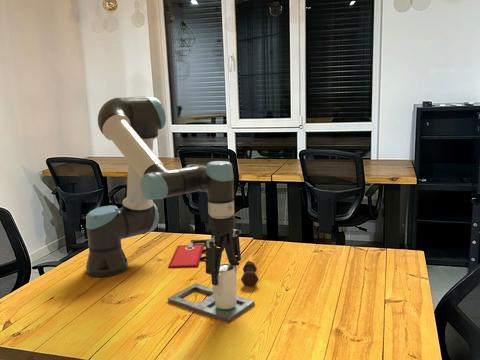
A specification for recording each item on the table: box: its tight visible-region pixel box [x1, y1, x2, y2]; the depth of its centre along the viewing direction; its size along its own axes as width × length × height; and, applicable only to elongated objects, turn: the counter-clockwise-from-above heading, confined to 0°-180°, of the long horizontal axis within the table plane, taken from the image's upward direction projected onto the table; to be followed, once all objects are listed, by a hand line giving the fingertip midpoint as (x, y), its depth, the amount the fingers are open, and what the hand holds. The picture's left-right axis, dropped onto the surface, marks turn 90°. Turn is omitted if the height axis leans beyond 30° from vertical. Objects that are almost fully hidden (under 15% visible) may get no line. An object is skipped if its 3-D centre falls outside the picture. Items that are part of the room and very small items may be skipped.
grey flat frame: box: [167, 283, 256, 324], centre depth 137 cm, size 24×13×1 cm, turn 53°
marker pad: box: [210, 303, 241, 314], centre depth 133 cm, size 8×8×1 cm
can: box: [215, 263, 237, 310], centre depth 132 cm, size 6×6×12 cm
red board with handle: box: [167, 238, 211, 269], centre depth 181 cm, size 30×3×15 cm
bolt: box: [240, 260, 259, 288], centre depth 155 cm, size 6×5×15 cm
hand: (225, 289), depth 132 cm, fingers closed on can, 6 cm apart
